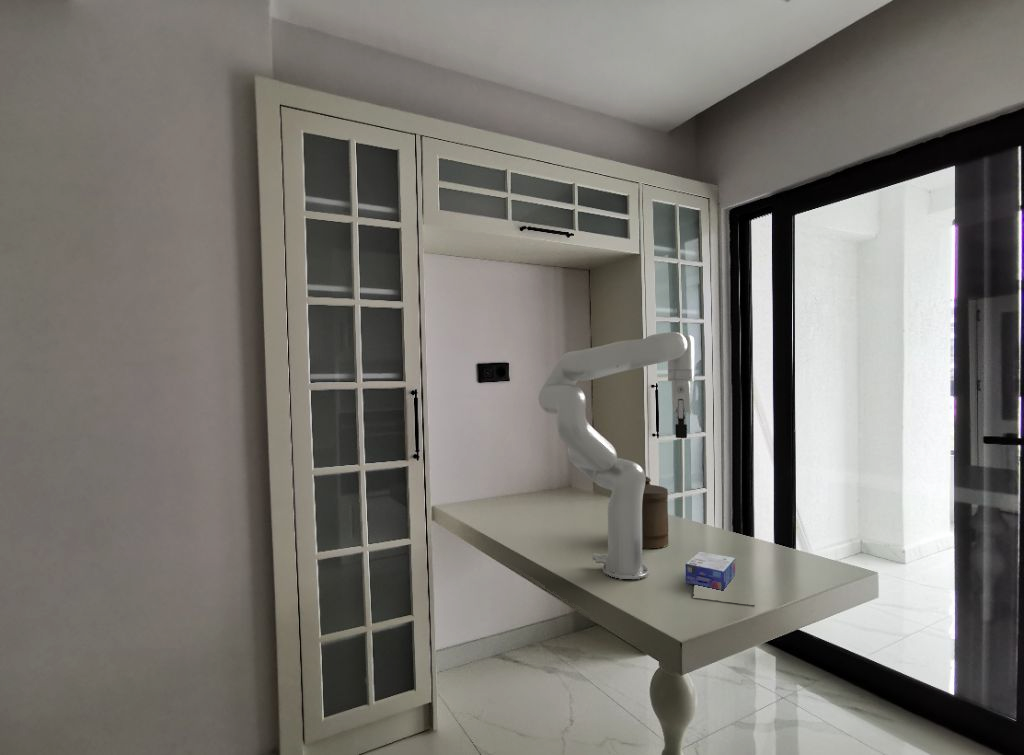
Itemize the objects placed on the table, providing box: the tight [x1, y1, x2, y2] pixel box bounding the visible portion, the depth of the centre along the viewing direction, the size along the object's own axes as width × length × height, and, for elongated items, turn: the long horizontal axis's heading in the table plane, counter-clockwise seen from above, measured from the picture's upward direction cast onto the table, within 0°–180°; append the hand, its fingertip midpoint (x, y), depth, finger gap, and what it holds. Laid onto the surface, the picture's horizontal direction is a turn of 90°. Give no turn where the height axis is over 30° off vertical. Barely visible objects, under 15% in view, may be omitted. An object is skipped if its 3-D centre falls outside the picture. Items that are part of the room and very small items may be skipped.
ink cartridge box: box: [685, 551, 736, 591], centre depth 135 cm, size 10×6×14 cm
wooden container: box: [642, 475, 669, 549], centre depth 171 cm, size 15×15×22 cm
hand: (681, 437), depth 152 cm, fingers closed
